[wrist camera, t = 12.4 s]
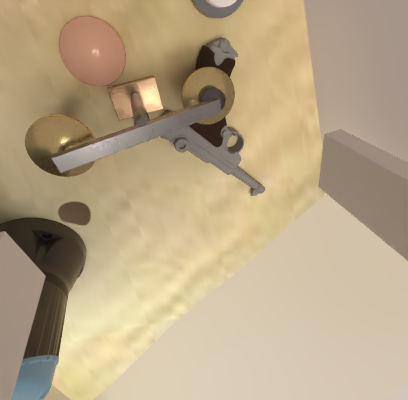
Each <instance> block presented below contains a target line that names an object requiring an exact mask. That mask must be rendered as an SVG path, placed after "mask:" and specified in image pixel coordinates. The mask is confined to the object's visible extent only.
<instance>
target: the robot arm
mask: <svg viewBox="0 0 408 400" xmlns="http://www.w3.org/2000/svg"><path fill="white" fill-rule="evenodd" d="M318 187H319V188H321V189H322V190H323V191H324V192H325V193H327V194H328V195H329V196H330V197H331V198H333V199H334V200H335V201H336V202H338V203H339V204H340V205H341V206H342V207H344V208H345V209H346V210H347V211H348V212H350V213H351V214H352V215H353V216H354V217H356V218H357V219H358V220H359V221H360V222H362V223H363V224H364V225H365V226H367V227H368V228H369V229H370V230H371V231H372V232H374V233H375V234H376V235H377V236H378V237H380V238H381V239H382V240H383V241H385V242H386V243H387V244H388V245H389V246H391V247H392V248H393V249H394V250H395V251H397V252H398V253H399V254H400V255H401V256H403V257H404V258H405V259H406V260H407V261H408V162H406V161H404V160H402V159H400V158H398V157H396V156H393V155H392V154H390V153H388V152H386V151H384V150H382V149H380V148H378V147H375V146H373V145H371V144H369V143H367V142H365V141H363V140H361V139H359V138H357V137H355V136H353V135H351V134H349V133H347V132H345V131H343V130H341V129H340V130H336V131H333V132H330V133H326V134H324V141H323V150H322V159H321V168H320V177H319V186H318ZM85 259H86V248H85V245H84V242H83V241H82V239H81V238H80V237H79V235H78V234H76V233H75V232H74V231H73V230H71V229H70V228H68V227H66V226H64V225H62V224H60V223H57V222H54V221H50V220H45V219H36V218H26V219H18V220H13V221H9V222H6V223H4V224H1V225H0V400H43V399H44V398H45V397H46V395H47V394H48V392H49V390H50V388H51V384H52V380H53V376H54V372H55V368H56V365H57V364H58V356H59V350H60V344H61V337H62V331H63V324H64V318H65V312H66V305H67V299H68V294H69V292H70V290H71V288H72V287H73V285H74V283H75V281H76V279H77V278H78V277H79V276H80V274H81V273H82V271H83V268H84V265H85Z"/></svg>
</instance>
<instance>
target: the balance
mask: <svg viewBox="0 0 408 400" xmlns="http://www.w3.org/2000/svg"><path fill="white" fill-rule="evenodd" d="M108 92H109V94H110V97H111V99H112V102H113V105H114V107H115V110H116V112H117V115H118V117H119V120H123V119H127V118H131V117H133V119H134V125H135V126H132V127H129V128H127V129H124V130H121V131H118V132H115V133H112V134H109V135H107V136H104V137H101V138H98V139H95V137H94V135H93V134H92V132H91V131H90V130H89V129H88V127H86V126H85V125H84V124H83V123H81V122H80V121H78V120H76V119H74V118H72V117H69V116H65V115H48V116H44V117H42V118H40V119H38V120H37V121H35V122H34V123H33V124H32V125H31V127H30V128H29V130H28V131H27V134H26V137H25V146H26V150H27V152H28V155H29V156H30V158H31V159H32V161H33V162H34V163H35V164H36V165H37V166H39V167H40V168H41V169H43V170H44V171H46V172H48V173H51V174H54V175H57V176H64V177H70V176H76V175H80V174H82V173H84V172H86V171H87V170H89V169H90V168H91V167H92V165H93V164H94V162H95V160H97V159H100V158H102V157H105V156H108V155H110V154H113V153H116V152H118V151H121V150H124V149H126V148H129V147H132V146H135V145H137V144H140V143H143V142H145V141H149V140H151V139H153V138H156V137H159V136H161V135H164V134H167V133H170V132H172V131H175V130H178V129H180V128H183V127H186V126H188V125H191V124H194V123H196V122H197V123H200V124H206V125H207V124H214V123H216V122H218V121H220V120H222V119H223V118H224V117H225V116H226V115H227V114H228V113H229V111H230V110H231V108H232V105H233V102H234V96H235V92H234V86H233V83H232V81H231V79H230V78H229V76H228V75H227V74H226V73H225V72H223V71H222V70H220V69H217V68H214V67H204V68H200V69H198V70H196V71H195V72H193V73H192V74H191V75H190V76H189V77H188V78H187V80H186V82H185V84H184V86H183V89H182V104H183V107H184V109H181V110H178V111H175V112H172V113H169V114H167V115H164V116H161V117H158V118H155V119H152V120H150V119H149V116H148V113H149V112H153V111H156V110H160V109H163V107H162V103H161V100H160V96H159V92H158V89H157V85H156V82H155V78H154V76H151V77H147V78H143V79H139V80H135V81H131V82H127V83H124V84H120V85H116V86H112V87H108Z"/></svg>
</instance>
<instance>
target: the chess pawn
mask: <svg viewBox="0 0 408 400" xmlns="http://www.w3.org/2000/svg"><path fill="white" fill-rule="evenodd" d="M236 1H237V0H206V2H207V3H209V4H210V5H211V6H214V7H217V8H222V7H228V6H230V5H232V4H233V3H235V2H236Z"/></svg>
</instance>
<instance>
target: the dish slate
mask: <svg viewBox="0 0 408 400" xmlns="http://www.w3.org/2000/svg"><path fill="white" fill-rule="evenodd" d="M192 2H193V3H194V5H195V6H196V8H197V9H198V10H199V11H200V12H201V13H203V14H204V15H206V16H208V17H212V18H223V17H226V16H229V15H231V14H232V13H233V12H235V11H236V10H237V9H238V7H239V6H240V5H241V3H242V2H243V0H237V1H236V2H235V3H233V4H232V5H230V6H228V7H222V8H217V7H214V6H211V5H210V4H209V3H207V2H206V0H192Z"/></svg>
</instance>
